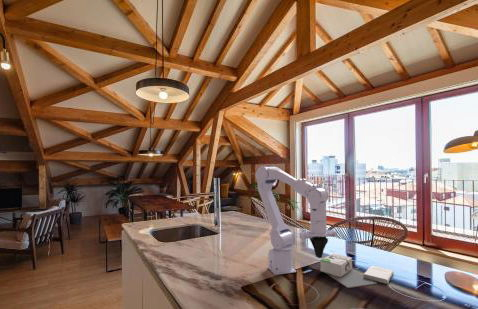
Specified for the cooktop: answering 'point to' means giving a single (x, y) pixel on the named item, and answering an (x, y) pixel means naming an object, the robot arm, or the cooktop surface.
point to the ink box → (336, 265)
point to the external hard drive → (378, 274)
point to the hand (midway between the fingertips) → (318, 257)
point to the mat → (353, 279)
